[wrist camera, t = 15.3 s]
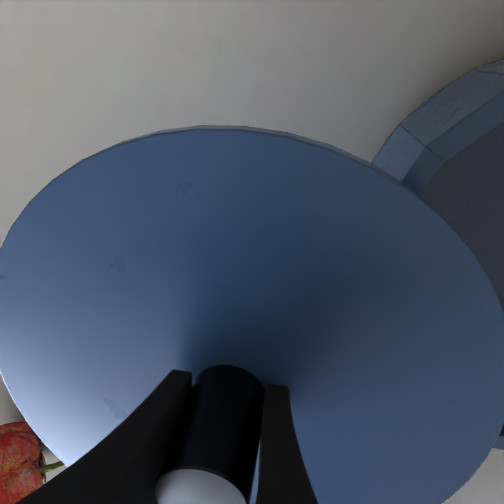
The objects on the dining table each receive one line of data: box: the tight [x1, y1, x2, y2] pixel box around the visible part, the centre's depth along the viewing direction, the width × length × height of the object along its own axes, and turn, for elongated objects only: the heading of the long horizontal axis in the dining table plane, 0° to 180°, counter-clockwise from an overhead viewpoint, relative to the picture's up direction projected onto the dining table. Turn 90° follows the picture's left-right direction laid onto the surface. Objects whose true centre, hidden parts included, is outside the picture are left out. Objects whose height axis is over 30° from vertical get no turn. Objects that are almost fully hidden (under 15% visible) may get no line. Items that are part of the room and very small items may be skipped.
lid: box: [0, 125, 504, 504], centre depth 12 cm, size 17×17×5 cm
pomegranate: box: [0, 422, 65, 504], centre depth 27 cm, size 7×7×10 cm
